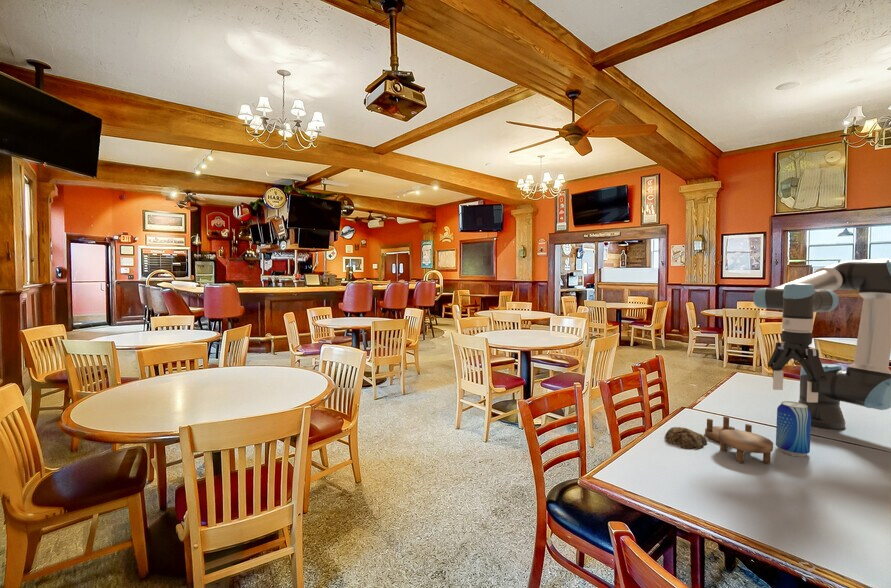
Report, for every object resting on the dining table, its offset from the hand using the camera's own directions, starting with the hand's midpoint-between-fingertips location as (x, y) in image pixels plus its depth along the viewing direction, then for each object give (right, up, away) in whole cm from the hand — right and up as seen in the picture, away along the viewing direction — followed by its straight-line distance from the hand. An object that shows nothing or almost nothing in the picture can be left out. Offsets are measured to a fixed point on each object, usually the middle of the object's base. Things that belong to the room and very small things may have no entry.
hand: (794, 395), depth 130 cm
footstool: (-18, -19, -2) cm, 26 cm away
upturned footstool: (-13, -18, +12) cm, 25 cm away
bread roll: (-30, -19, +9) cm, 37 cm away
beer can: (0, -19, +1) cm, 19 cm away
